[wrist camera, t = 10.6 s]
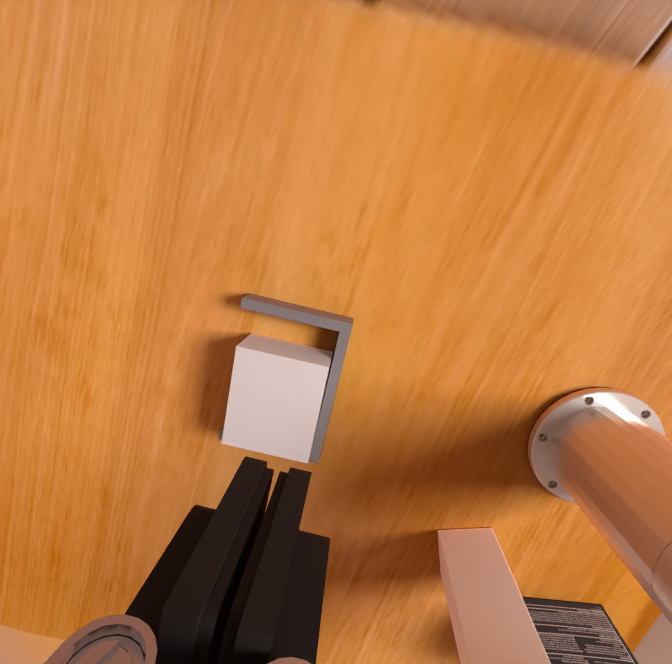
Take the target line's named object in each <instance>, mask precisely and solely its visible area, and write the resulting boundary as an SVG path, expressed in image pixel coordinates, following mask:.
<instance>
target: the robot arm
mask: <svg viewBox="0 0 672 664" xmlns="http://www.w3.org/2000/svg"><path fill="white" fill-rule="evenodd" d="M528 458H529V462H530V466H531V468H532V470H533V472H534V474H535V475H536V477H537V478H538V480H539V481H540V483H541V484H542V485H543V486H544V487H545V488H546V489H547V490H548V491H550V492H551V493H552V494H554V495H555V496H557V497H559V498H561V499H563V500H566V501H569V502H573V503H577V505H578V506H579V507H580V508H581V510H582V511H583V512H584V514H585V515H586V516H587V517H588V519H589V520H590V521H591V522H592V524H593V525H594V526H595V528H596V529H597V530H598V531H599V533H600V534H601V535H602V536H603V538H604V539H605V540H606V542H607V543H608V544H609V545H610V547H611V548H612V549H613V550H614V552H615V553H616V554H617V556H618V557H619V558H620V559H621V561H622V562H623V563H624V564H625V566H626V567H627V568H628V569H629V571H630V572H631V573H632V575H633V576H634V577H635V578H636V580H637V581H638V582H639V583H640V585H641V586H642V587H643V589H644V590H645V591H646V592H647V594H648V595H649V596H650V597H651V599H652V600H653V601H654V603H655V604H656V605H657V606H658V608H659V609H660V610H661V611H662V612H663V614H664V615H665V616H666V617H667V619H668V620H669V621H670V622H671V624H672V441H671V440H669V439H668V438H666V437H665V431H664V428H663V425H662V423H661V420H660V418H659V417H658V416H657V414H656V413H655V411H654V410H653V409H652V408H651V407H650V406H648V405H647V404H646V403H645V402H643V401H642V400H640V399H639V398H637V397H635V396H633V395H631V394H629V393H627V392H624V391H621V390H617V389H612V388H591V389H584V390H581V391H577V392H574V393H571V394H569V395H567V396H565V397H563V398H561V399H559V400H558V401H556V402H555V403H553V404H552V405H551V406H550V407H549V408H548V409H546V410H545V411H544V412H543V413H542V415H541V416H540V417H539V419H538V420H537V422H536V423H535V425H534V427H533V429H532V431H531V433H530V438H529V442H528ZM273 472H274V470H273V469H269V468H267V461H262V460H258V459H254V458H250V457H245V458H244V459H243V461H242V463H241V465H240V467H239V469H238V470H237V472H236V474H235V476H234V478H233V480H232V481H231V483H230V485H229V487H228V489H227V491H226V493H225V494H224V496H223V498H222V500H221V502H220V504H219V505H218V507H217V509H216V510H215V509H211V508H207V507H203V506H199V505H195V506H194V507H193V508H192V509H191V511H190V512H189V514H188V515H187V517H186V518H185V520H184V521H183V523H182V525H181V526H180V528H179V529H178V531H177V532H176V534H175V536H174V537H173V539H172V540H171V542H170V544H169V545H168V547H167V548H166V550H165V551H164V553H163V555H162V556H161V558H160V559H159V561H158V562H157V564H156V566H155V567H154V569H153V570H152V572H151V573H150V575H149V577H148V578H147V580H146V581H145V583H144V585H143V586H142V588H141V589H140V591H139V592H138V594H137V596H136V597H135V599H134V600H133V602H132V603H131V605H130V607H129V608H128V610H127V611H126V613H125V615H111V616H107V617H104V618H101V619H98V620H94V621H92V622H90V623H89V624H87V625H85V626H84V627H82V628H80V629H78V630H77V631H76V632H75V633H74V634H72V635H71V636H70V637H69V638H68V639H67V640H66V641H65V642H63V643H62V644H61V646H60V647H59V648H58V649H57V650H56V651H55V652H54V653H53V654H52V655H51V656H50V658H49V659H48V660H47V661H46V662H45V663H44V664H316V656H317V647H318V639H319V630H320V621H321V613H322V604H323V595H324V587H325V578H326V569H327V561H328V552H329V542H330V538H328V537H324V536H320V535H316V534H312V533H308V532H304V531H300V530H299V525H300V521H301V517H302V512H303V508H304V503H305V499H306V494H307V490H308V486H309V481H310V477H311V472H307V471H303V470H299V469H295V468H291V467H290V470H289V473H285V472H281V471H280V473H279V476H278V479H277V482H276V484H275V487H274V490H273V493H272V496H271V498H270V501H269V504H268V507H267V509H266V506H267V501H268V496H269V492H270V487H271V482H272V477H273ZM265 510H266V512H265Z"/></svg>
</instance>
